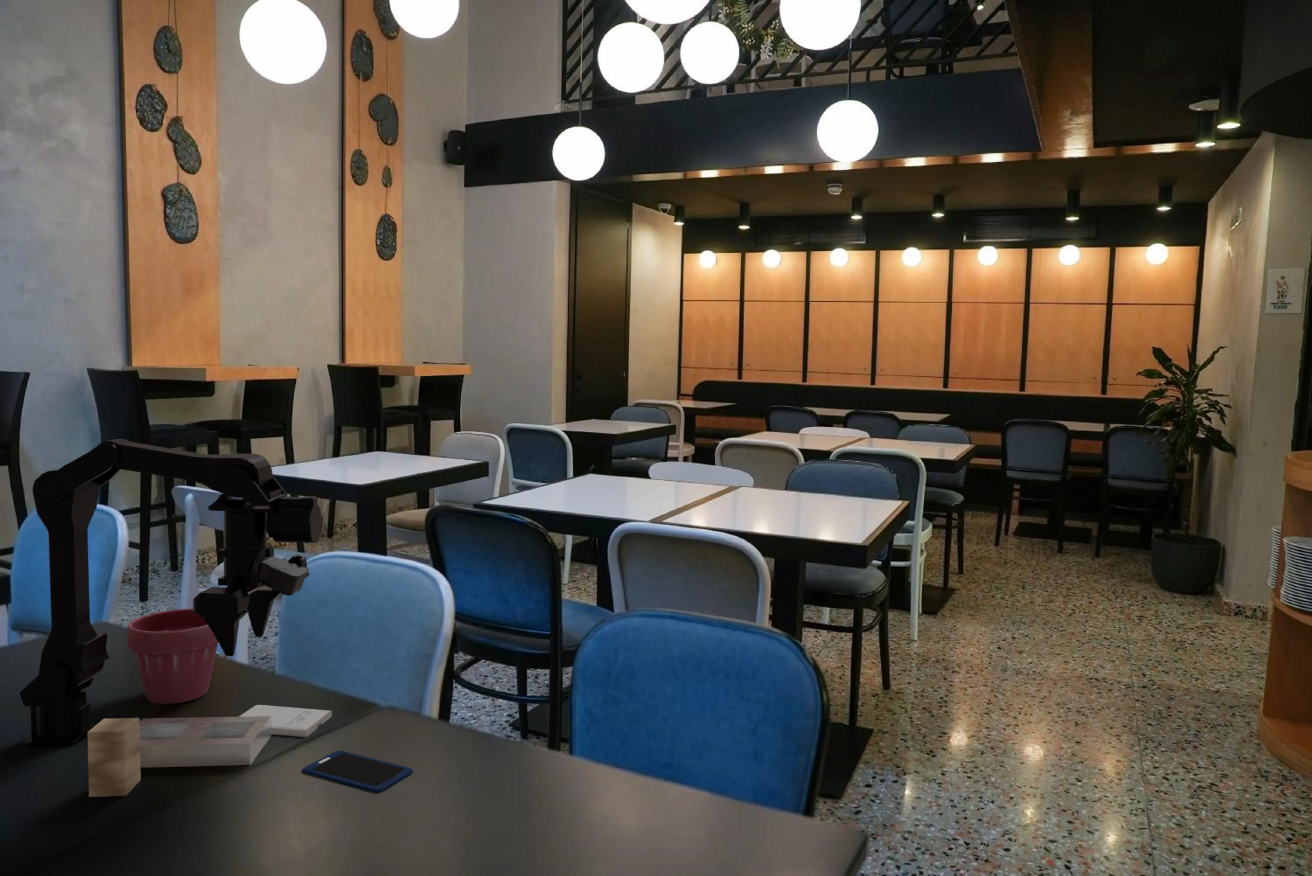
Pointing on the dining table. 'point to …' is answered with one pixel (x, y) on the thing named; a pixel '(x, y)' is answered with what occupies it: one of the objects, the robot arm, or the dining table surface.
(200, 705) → the dining table surface
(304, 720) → the external hard drive
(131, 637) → the plant pot
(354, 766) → the cell phone
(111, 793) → the maple peg
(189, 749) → the double square frame
